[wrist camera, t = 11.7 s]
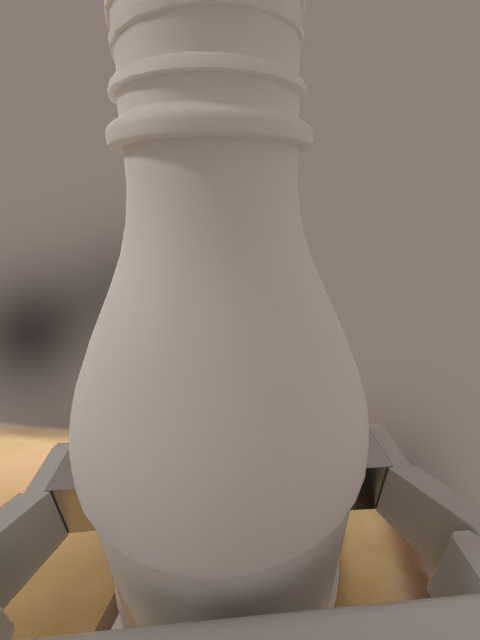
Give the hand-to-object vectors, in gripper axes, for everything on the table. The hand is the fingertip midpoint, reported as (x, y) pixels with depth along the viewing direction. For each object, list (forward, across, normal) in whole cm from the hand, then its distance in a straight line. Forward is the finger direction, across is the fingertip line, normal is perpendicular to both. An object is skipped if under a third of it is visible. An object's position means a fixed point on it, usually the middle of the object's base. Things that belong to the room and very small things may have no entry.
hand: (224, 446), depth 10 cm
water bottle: (-1, 0, +14) cm, 15 cm away
